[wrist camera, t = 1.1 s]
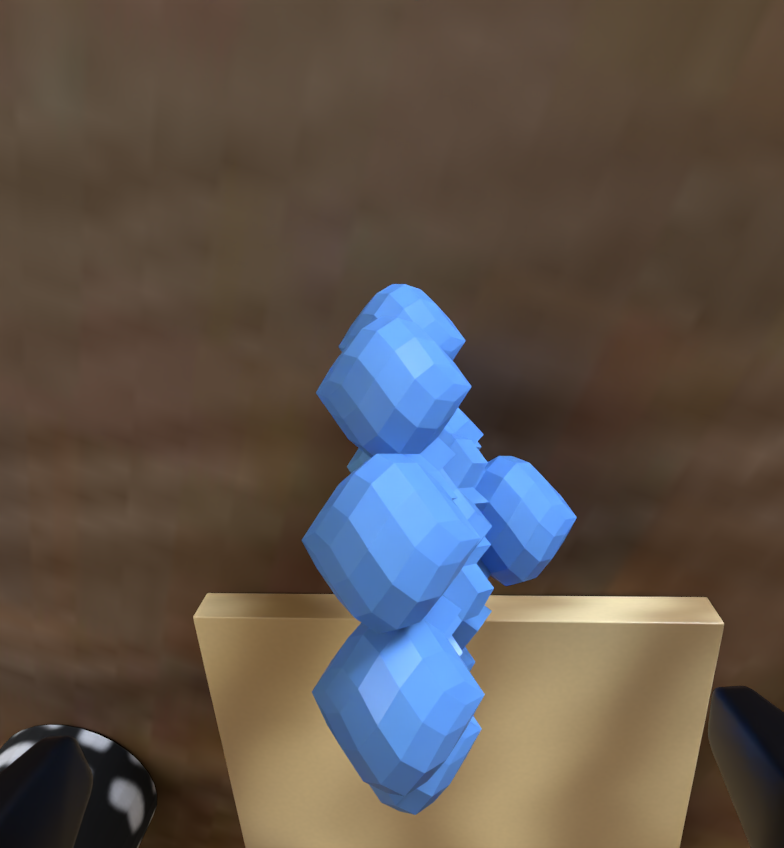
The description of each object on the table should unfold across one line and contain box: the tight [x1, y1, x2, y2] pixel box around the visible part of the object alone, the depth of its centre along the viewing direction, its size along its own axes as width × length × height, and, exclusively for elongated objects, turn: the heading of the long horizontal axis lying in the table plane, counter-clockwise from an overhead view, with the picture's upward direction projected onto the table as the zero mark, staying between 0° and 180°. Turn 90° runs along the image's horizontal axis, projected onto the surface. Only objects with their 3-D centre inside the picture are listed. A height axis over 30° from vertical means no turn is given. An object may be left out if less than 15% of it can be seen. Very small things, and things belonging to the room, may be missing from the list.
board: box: [193, 593, 724, 848], centre depth 25 cm, size 20×16×2 cm
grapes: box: [302, 284, 577, 815], centre depth 15 cm, size 12×7×12 cm, turn 4°
